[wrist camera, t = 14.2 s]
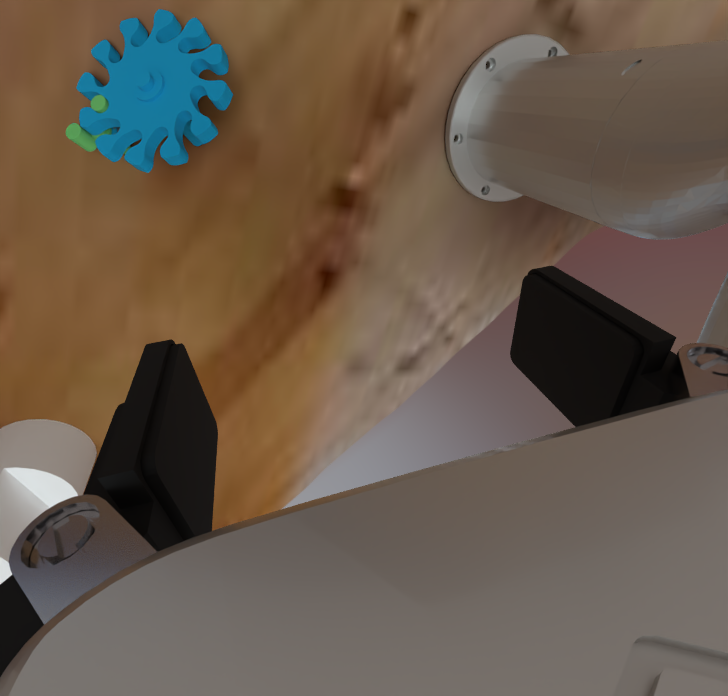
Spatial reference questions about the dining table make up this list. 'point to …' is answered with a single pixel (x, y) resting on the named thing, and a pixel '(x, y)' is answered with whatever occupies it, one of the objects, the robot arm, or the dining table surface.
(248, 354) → the dining table surface
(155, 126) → the gear
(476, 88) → the robot arm
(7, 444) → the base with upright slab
